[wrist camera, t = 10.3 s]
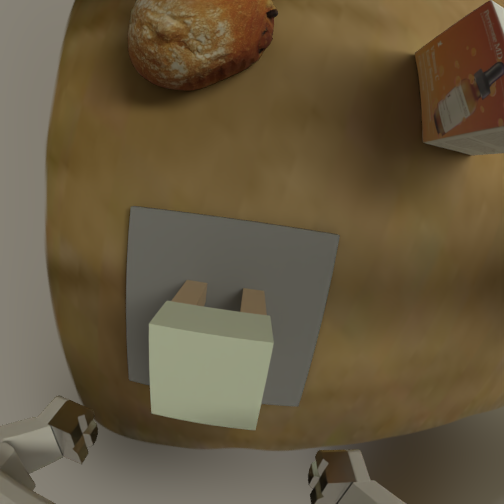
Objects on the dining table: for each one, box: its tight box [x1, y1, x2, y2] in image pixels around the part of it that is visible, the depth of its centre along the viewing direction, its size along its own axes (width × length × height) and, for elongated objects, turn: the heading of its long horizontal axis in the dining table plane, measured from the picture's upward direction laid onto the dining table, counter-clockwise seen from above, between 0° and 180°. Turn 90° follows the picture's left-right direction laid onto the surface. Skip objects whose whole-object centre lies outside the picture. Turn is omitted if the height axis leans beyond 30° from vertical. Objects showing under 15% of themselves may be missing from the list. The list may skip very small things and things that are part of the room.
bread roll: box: [128, 0, 278, 91], centre depth 15 cm, size 10×10×8 cm
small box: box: [415, 0, 504, 155], centre depth 12 cm, size 8×6×10 cm
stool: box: [149, 280, 274, 430], centre depth 17 cm, size 6×6×8 cm
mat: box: [126, 206, 340, 406], centre depth 21 cm, size 14×14×1 cm
